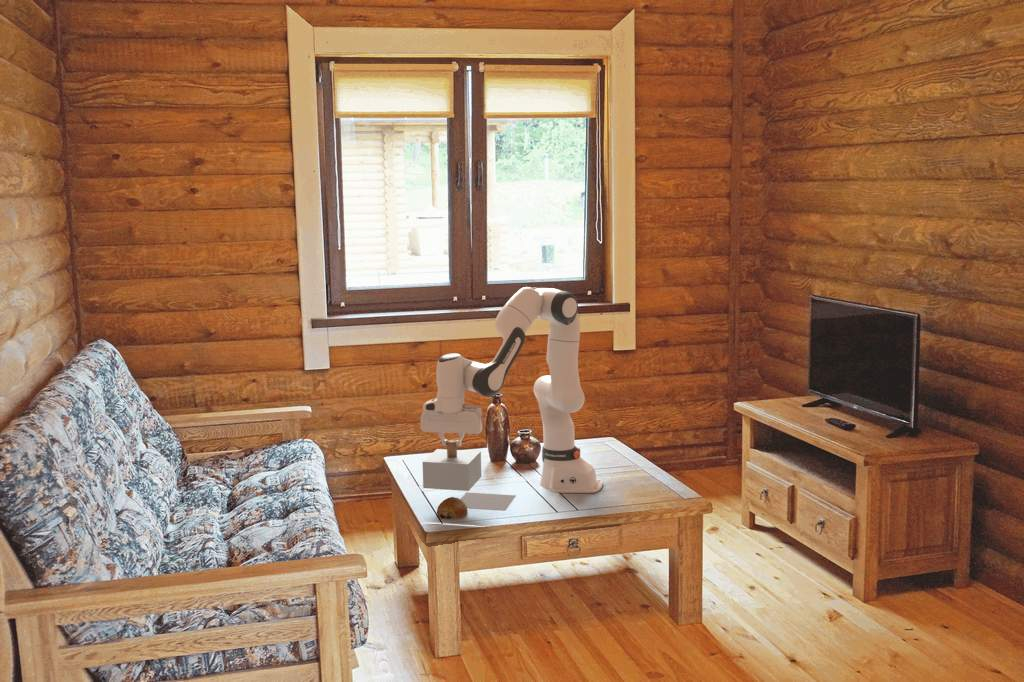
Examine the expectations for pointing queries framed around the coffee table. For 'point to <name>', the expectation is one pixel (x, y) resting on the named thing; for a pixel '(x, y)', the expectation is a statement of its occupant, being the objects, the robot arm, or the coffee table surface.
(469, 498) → the mat
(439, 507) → the bread roll
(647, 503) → the coffee table surface
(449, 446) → the cover
